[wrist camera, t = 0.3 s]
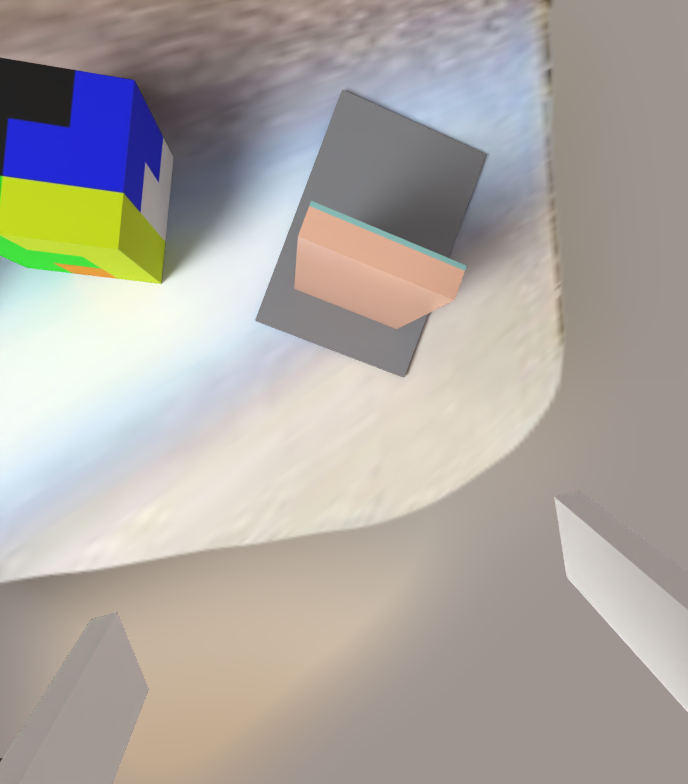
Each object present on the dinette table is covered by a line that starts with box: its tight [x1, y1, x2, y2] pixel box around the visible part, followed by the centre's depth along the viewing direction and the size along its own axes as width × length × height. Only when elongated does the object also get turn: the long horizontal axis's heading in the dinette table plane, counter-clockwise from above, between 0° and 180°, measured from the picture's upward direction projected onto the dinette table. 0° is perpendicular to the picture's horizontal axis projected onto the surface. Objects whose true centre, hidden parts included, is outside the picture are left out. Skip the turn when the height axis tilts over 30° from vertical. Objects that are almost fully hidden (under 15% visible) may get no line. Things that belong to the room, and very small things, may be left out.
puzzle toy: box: [0, 58, 174, 284], centre depth 33 cm, size 10×10×10 cm
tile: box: [294, 201, 467, 329], centre depth 33 cm, size 2×9×14 cm, turn 69°
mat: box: [256, 90, 486, 377], centre depth 40 cm, size 20×13×1 cm, turn 160°
